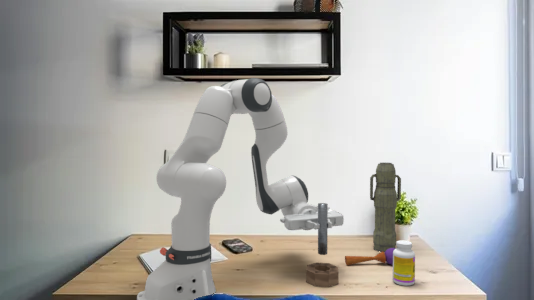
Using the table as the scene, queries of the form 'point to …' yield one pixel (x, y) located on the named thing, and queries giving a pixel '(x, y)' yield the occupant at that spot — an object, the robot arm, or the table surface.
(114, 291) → the table surface
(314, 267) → the bead
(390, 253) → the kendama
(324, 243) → the grey metal peg
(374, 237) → the thermos
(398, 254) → the supplement bottle
